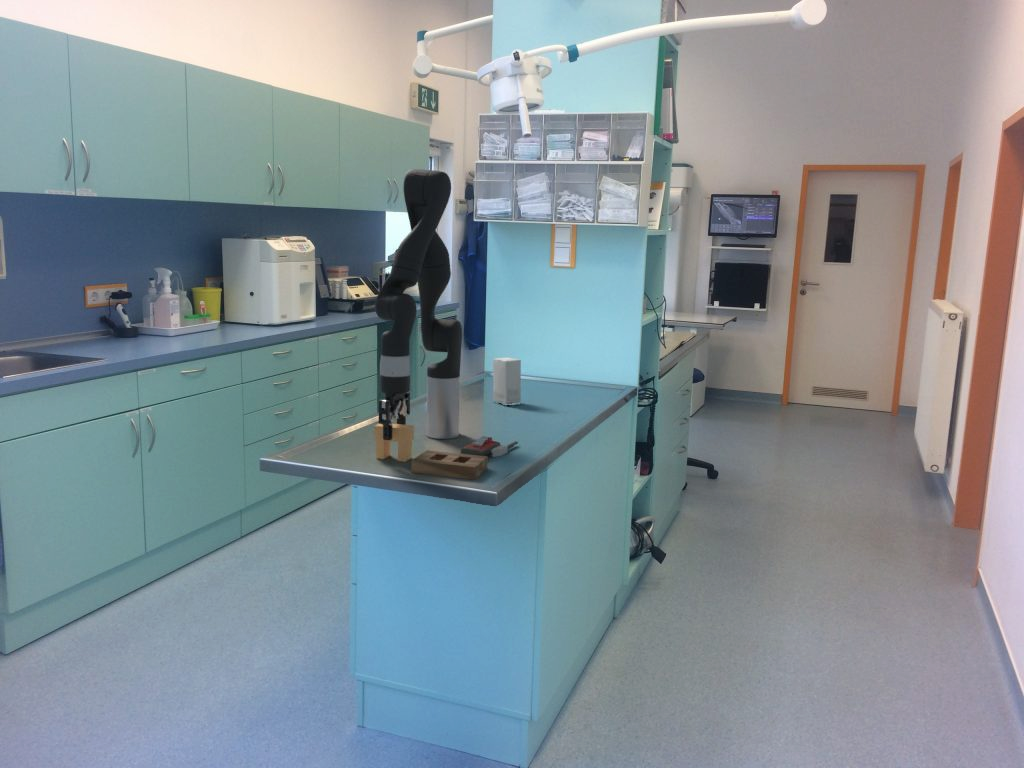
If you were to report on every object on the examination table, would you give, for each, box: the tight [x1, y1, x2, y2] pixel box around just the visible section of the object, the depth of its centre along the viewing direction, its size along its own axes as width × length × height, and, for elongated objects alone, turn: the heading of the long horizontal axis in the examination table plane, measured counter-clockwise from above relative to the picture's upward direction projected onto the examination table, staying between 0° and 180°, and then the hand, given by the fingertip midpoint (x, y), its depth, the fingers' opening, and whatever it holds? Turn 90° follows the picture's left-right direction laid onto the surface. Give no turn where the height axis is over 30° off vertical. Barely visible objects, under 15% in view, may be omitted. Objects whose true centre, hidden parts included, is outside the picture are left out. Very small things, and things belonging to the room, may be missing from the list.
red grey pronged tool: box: [459, 436, 519, 458], centre depth 215 cm, size 9×4×20 cm
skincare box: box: [492, 356, 522, 404], centre depth 277 cm, size 8×7×16 cm
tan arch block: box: [373, 423, 415, 463], centre depth 206 cm, size 4×9×8 cm, turn 74°
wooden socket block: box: [411, 450, 489, 480], centre depth 197 cm, size 10×16×3 cm, turn 74°
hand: (394, 436), depth 205 cm, fingers open, 8 cm apart
